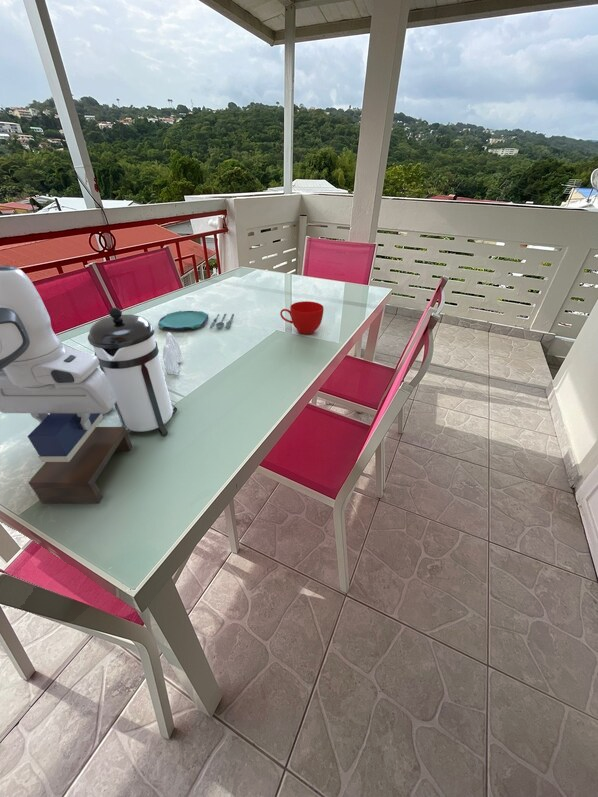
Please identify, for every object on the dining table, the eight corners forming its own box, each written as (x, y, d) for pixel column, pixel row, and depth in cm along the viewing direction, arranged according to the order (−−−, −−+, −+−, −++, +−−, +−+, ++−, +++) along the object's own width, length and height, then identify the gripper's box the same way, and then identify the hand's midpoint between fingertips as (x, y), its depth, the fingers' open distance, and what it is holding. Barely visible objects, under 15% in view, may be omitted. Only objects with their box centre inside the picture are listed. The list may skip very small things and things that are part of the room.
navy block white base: (69, 462, 60) (55, 437, 56) (41, 462, 59) (25, 437, 56) (103, 417, 70) (93, 394, 67) (80, 417, 70) (68, 394, 67)
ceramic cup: (282, 324, 139) (281, 300, 133) (322, 325, 138) (323, 301, 133) (279, 336, 128) (278, 312, 123) (322, 338, 128) (324, 313, 122)
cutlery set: (169, 314, 147) (168, 309, 146) (236, 315, 146) (235, 310, 145) (152, 332, 130) (150, 327, 129) (227, 333, 130) (227, 328, 129)
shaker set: (171, 358, 113) (164, 328, 106) (184, 357, 113) (177, 327, 107) (165, 376, 103) (156, 344, 97) (179, 375, 103) (171, 343, 97)
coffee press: (195, 421, 85) (170, 307, 68) (132, 451, 75) (85, 328, 58) (164, 394, 95) (136, 289, 78) (106, 418, 86) (59, 304, 69)
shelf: (42, 503, 64) (27, 482, 60) (85, 446, 77) (75, 426, 73) (99, 503, 64) (88, 482, 60) (132, 446, 77) (125, 426, 73)
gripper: (-41, 374, 53) (3, 438, 61) (88, 374, 53) (115, 438, 61) (-11, 355, 58) (26, 417, 66) (106, 356, 58) (129, 417, 66)
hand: (69, 427), depth 63 cm, fingers closed on navy block white base, 5 cm apart
